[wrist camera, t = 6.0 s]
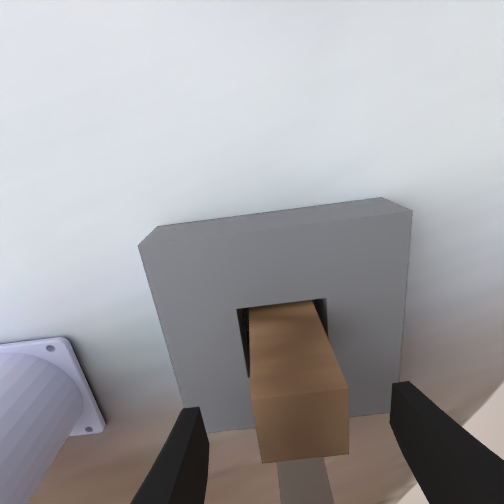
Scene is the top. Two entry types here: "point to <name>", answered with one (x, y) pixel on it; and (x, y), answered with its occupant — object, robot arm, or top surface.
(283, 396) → the peg
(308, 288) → the socket block
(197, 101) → the top surface
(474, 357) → the top surface
